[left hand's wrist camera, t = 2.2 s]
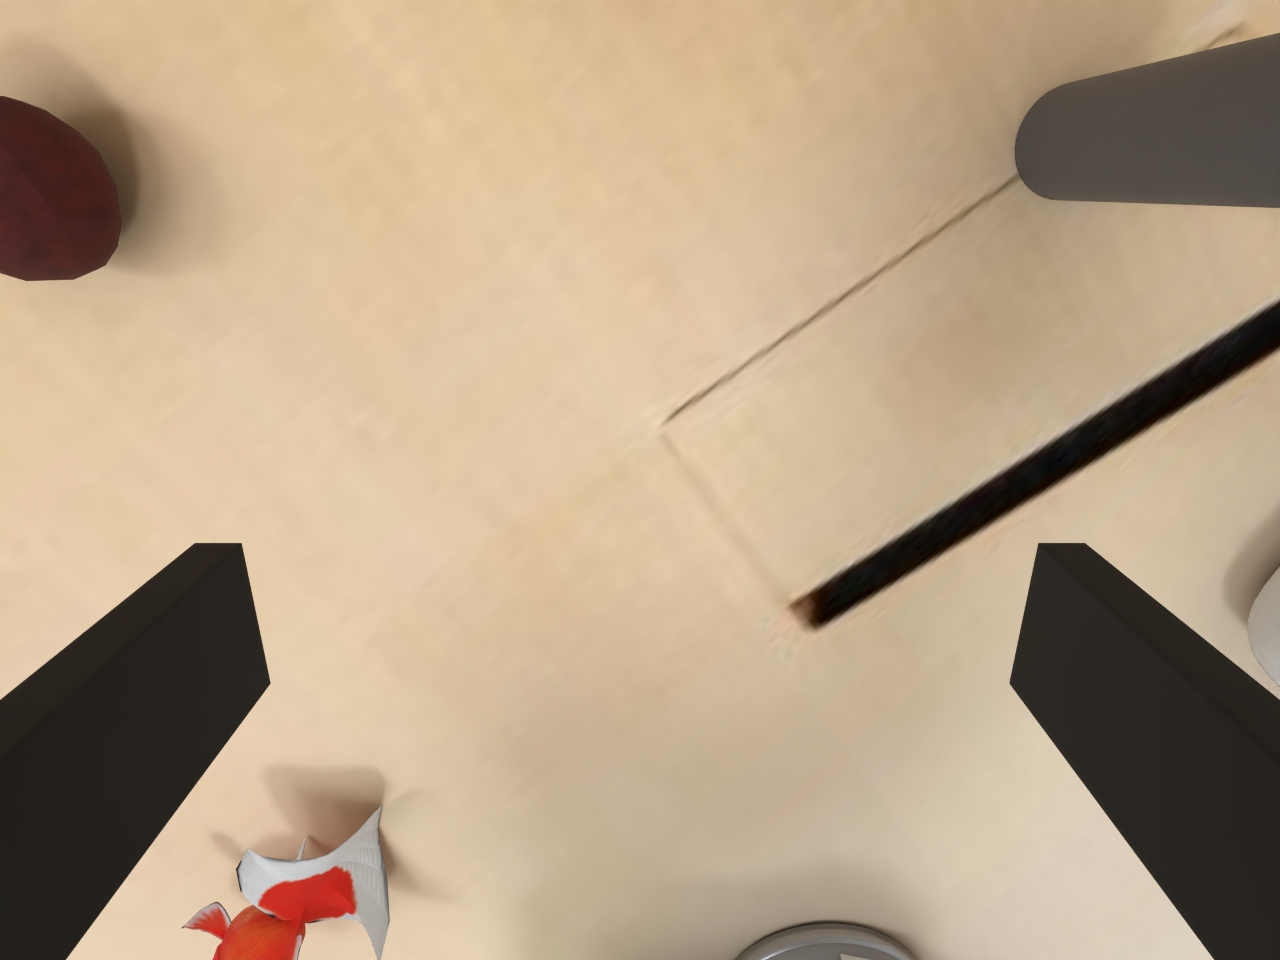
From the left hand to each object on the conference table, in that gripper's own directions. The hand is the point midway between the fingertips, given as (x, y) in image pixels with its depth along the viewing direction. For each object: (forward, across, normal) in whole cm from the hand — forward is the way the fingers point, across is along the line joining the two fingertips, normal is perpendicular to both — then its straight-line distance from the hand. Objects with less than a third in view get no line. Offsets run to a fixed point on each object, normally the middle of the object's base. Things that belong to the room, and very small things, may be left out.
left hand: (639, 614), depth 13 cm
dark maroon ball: (+28, +27, -6) cm, 39 cm away
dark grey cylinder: (+28, -20, -9) cm, 36 cm away
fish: (+28, +22, +35) cm, 50 cm away
